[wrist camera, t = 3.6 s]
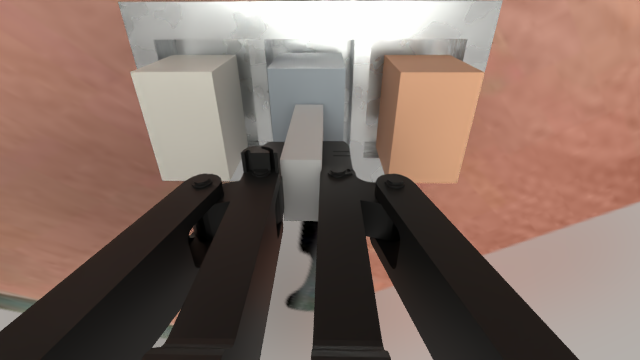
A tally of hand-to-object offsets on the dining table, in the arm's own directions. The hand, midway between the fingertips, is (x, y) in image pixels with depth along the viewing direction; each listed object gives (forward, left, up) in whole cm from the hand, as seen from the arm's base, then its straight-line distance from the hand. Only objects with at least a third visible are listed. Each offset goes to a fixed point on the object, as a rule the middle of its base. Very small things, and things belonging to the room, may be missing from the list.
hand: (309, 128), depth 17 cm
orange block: (+6, 0, -4) cm, 8 cm away
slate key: (0, 0, -5) cm, 5 cm away
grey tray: (0, 0, -8) cm, 8 cm away
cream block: (-7, 0, -5) cm, 8 cm away
